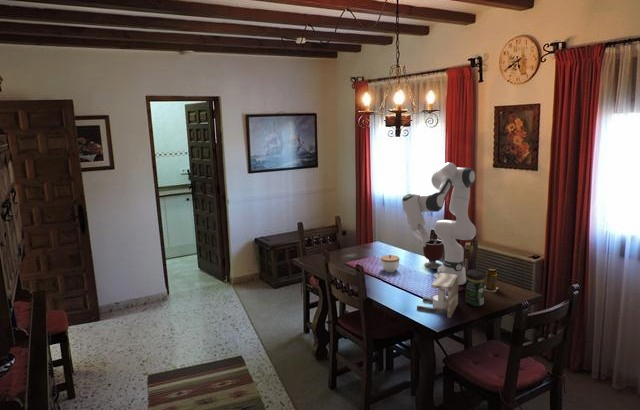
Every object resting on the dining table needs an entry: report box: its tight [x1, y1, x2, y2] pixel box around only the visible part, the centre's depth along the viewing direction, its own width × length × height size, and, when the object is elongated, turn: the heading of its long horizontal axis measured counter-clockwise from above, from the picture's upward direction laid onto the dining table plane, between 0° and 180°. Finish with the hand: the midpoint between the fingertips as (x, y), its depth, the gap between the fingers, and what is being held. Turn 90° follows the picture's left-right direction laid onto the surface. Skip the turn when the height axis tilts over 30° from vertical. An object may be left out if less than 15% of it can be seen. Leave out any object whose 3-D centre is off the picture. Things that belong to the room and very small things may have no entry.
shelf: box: [416, 273, 459, 319], centre depth 236 cm, size 18×20×16 cm
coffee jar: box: [464, 269, 486, 307], centre depth 240 cm, size 10×8×19 cm
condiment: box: [483, 268, 499, 293], centre depth 261 cm, size 7×8×12 cm
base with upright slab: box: [432, 288, 448, 310], centre depth 235 cm, size 9×9×12 cm
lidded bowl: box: [380, 254, 400, 273], centre depth 300 cm, size 13×13×11 cm
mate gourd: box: [422, 239, 445, 269], centre depth 306 cm, size 16×14×20 cm
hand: (423, 245), depth 243 cm, fingers closed
